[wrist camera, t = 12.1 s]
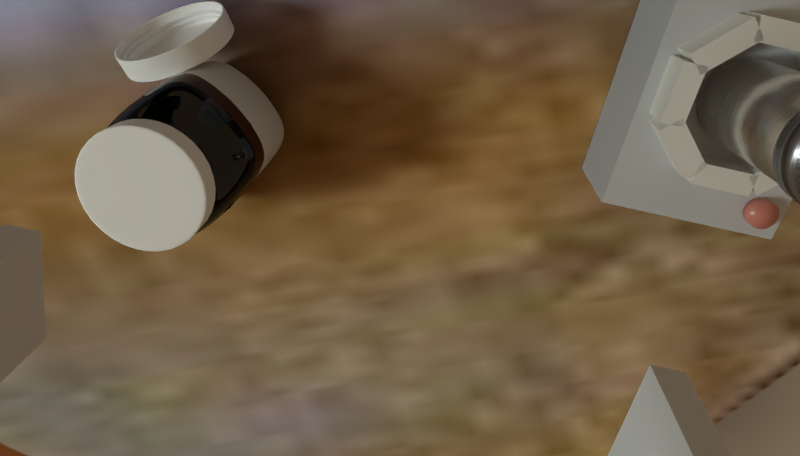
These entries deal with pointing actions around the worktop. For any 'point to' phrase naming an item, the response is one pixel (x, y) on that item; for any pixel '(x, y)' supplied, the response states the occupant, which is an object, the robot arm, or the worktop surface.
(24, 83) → the worktop surface
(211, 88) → the spread jar
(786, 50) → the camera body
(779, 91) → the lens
